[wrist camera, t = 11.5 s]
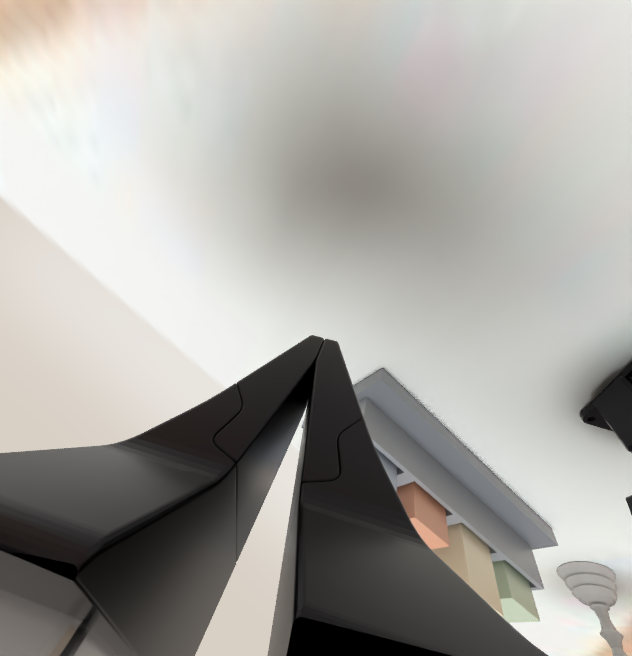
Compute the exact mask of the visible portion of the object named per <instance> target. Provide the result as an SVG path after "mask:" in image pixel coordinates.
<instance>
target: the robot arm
mask: <svg viewBox="0 0 632 656" xmlns="http://www.w3.org/2000/svg"><path fill="white" fill-rule="evenodd" d="M307 403H308V404H307ZM306 406H307V410H306V415H305V421H304V428H303V434H302V441H301V447H300V453H299V460H298V466H297V472H296V479H295V485H294V492H293V498H292V504H291V511H290V517H289V524H288V530H287V536H286V542H285V549H284V556H283V562H282V569H281V574H280V581H279V587H278V594H277V600H276V606H275V612H274V619H273V625H272V632H271V638H270V644H269V651H268V656H548V655H547V654H545V653H544V652H543V651H541V650H540V649H538V648H537V647H536V646H534V645H533V644H532V643H530V642H529V641H528V640H527V639H526V638H525V637H524V636H522V635H521V634H520V633H519V632H518V631H517V630H516V629H514V628H513V627H512V626H511V625H510V624H509V623H508V622H507V621H506V620H505V619H504V618H503V617H502V616H501V615H500V614H499V613H498V612H496V611H495V610H494V609H493V608H492V607H491V606H490V605H489V604H488V603H487V602H486V601H485V600H484V599H483V598H482V597H481V596H480V595H478V594H477V593H476V592H475V591H474V590H473V589H472V588H471V587H470V586H469V585H468V584H467V583H466V582H465V581H464V580H463V579H462V578H461V577H459V576H458V575H457V574H456V573H455V572H454V571H453V570H452V569H451V568H450V567H449V566H448V565H447V564H446V563H445V562H444V561H443V560H441V559H440V558H439V557H438V556H437V555H436V554H435V553H434V552H433V551H432V550H431V549H430V548H429V547H428V545H427V544H426V543H425V542H424V541H423V539H422V538H421V536H420V535H419V534H418V532H417V530H416V529H415V527H414V526H413V524H412V522H411V520H410V518H409V516H408V514H407V512H406V510H405V508H404V506H403V504H402V502H401V500H400V498H399V496H398V494H397V492H396V490H395V488H394V486H393V484H392V482H391V480H390V478H389V476H388V474H387V472H386V470H385V468H384V466H383V464H382V462H381V460H380V457H379V455H378V453H377V451H376V449H375V446H374V444H373V441H372V439H371V436H370V433H369V431H368V428H367V425H366V422H365V420H364V417H363V414H362V411H361V408H360V405H359V402H358V399H357V396H356V393H355V390H354V388H353V385H352V382H351V379H350V376H349V373H348V370H347V367H346V364H345V361H344V358H343V355H342V353H341V350H340V347H339V344H338V342H337V341H333V340H329V339H325V340H324V339H323V338H321V337H318V336H314V335H311V336H309V337H308V338H306V339H304V340H303V341H301V342H300V343H298V344H297V345H295V346H293V347H292V348H290V349H289V350H287V351H286V352H284V353H282V354H281V355H279V356H278V357H276V358H275V359H273V360H271V361H270V362H268V363H267V364H265V365H264V366H262V367H260V368H259V369H257V370H256V371H254V372H253V373H251V374H249V375H248V376H246V377H245V378H243V379H242V380H240V381H238V382H237V384H234V385H232V386H230V387H229V388H227V389H226V390H224V391H222V392H221V393H219V394H217V395H216V396H214V397H212V398H211V399H209V400H207V401H205V402H203V403H201V404H200V405H198V406H196V407H194V408H192V409H190V410H188V411H186V412H184V413H182V414H180V415H178V416H176V417H174V418H172V419H170V420H168V421H166V422H164V423H162V424H160V425H158V426H156V427H154V428H152V429H150V430H148V431H146V432H144V433H142V434H140V435H137V436H135V437H133V438H130V439H128V440H125V441H122V442H118V443H115V444H109V445H102V446H91V447H78V448H64V449H51V450H37V451H25V452H11V453H0V656H195V654H196V652H197V649H198V647H199V645H200V643H201V641H202V638H203V636H204V634H205V631H206V630H207V627H208V625H209V623H210V620H211V618H212V616H213V614H214V612H215V609H216V607H217V605H218V603H219V601H220V598H221V596H222V594H223V592H224V589H225V587H226V585H227V583H228V581H229V578H230V576H231V574H232V572H233V569H234V567H235V565H236V561H237V560H238V558H239V556H240V554H241V551H242V549H243V547H244V545H245V543H246V540H247V538H248V536H249V534H250V531H251V529H252V527H253V525H254V522H255V520H256V518H257V516H258V513H259V511H260V509H261V507H262V505H263V503H264V500H265V498H266V496H267V493H268V491H269V489H270V487H271V485H272V482H273V480H274V478H275V476H276V474H277V471H278V469H279V467H280V465H281V462H282V460H283V458H284V456H285V453H286V451H287V449H288V447H289V445H290V442H291V440H292V438H293V436H294V433H295V431H296V429H297V427H298V425H299V422H300V420H301V418H302V416H303V413H304V411H305V409H306ZM580 417H581V419H582V420H583V421H584V422H585V423H587V424H590V425H594V426H597V427H600V428H604V429H607V430H611V431H613V432H614V433H615V434H616V436H617V437H618V438H619V440H620V441H621V442H622V444H623V445H624V446H625V448H626V449H627V450H628V451H629V452H631V453H632V363H631V364H630V365H629V366H628V367H627V368H626V369H625V370H624V371H623V372H622V373H621V374H620V375H619V376H618V377H617V378H616V379H615V380H614V381H613V382H612V383H611V384H610V385H609V386H608V387H607V388H606V389H605V390H604V391H603V392H602V393H601V394H600V395H599V396H598V397H597V398H596V399H595V400H594V401H593V402H592V403H591V404H590V405H589V406H588V407H587V408H586V409H585V410H584V411H583V412H582V413H581V414H580ZM626 501H627V503H628V506H629V509H630V511H631V515H632V495H631V496H629V497H627V498H626Z"/></svg>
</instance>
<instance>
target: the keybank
mask: <svg viewBox="0 0 632 656" xmlns="http://www.w3.org/2000/svg"><path fill="white" fill-rule="evenodd" d="M353 388H354V390H355V393H356V396H357V399H358V402H359V405H360V408H361V411H362V414H363V417H364V420H365V422H366V425H367V428H368V431H369V433H370V436H371V439H372V441H373V444H374V446H375V447H376V448H377V449H378V450H379V451H380V452H381V453H383V454H384V455H385V456H386V457H387V458H388V459H389V460H391V461H392V462H393V463H394V464H395V465H396V466H397V487H399V486H402V485H405V484H408V483H411V482H414V481H415V482H416V483H417V484H418V485H420V486H421V487H422V488H423V489H424V490H425V491H426V492H428V493H429V494H430V495H431V496H432V497H433V498H435V499H436V500H437V501H438V502H439V503H440V504H441V505H443V506H444V507H445V511H446V520H447V526H449V525H454V524H458V523H463V524H465V525H466V526H467V527H468V528H469V529H470V530H471V531H473V532H474V533H475V534H476V535H477V536H478V537H480V538H481V539H482V540H483V541H484V542H485V543H486V544H488V545H489V550H490V555H491V559H492V562H494V561H501V560H506V561H507V562H508V563H510V564H511V565H512V566H513V567H514V568H515V569H516V570H518V571H519V572H520V573H521V574H522V575H523V576H525V577H526V578H527V579H528V581H529V584H530V588H531V590H541V589H544V587H543V584H542V580H541V577H540V574H539V571H538V568H537V565H536V562H535V559H534V556H533V552H532V550H533V549H539V548H546V547H552V546H558V544H557V541H556V538H555V536H554V533H553V531H552V529H551V528H550V527H549V526H548V525H547V524H546V523H545V522H544V521H543V520H542V519H541V518H540V517H539V516H538V515H537V514H536V513H535V512H534V511H532V510H531V509H530V508H529V507H528V506H527V505H526V504H525V503H524V502H523V501H522V500H521V499H520V498H519V497H518V496H517V495H516V494H515V493H514V492H512V491H511V490H510V489H509V488H508V487H507V486H506V485H505V484H504V483H503V482H502V481H501V480H500V479H499V478H498V477H497V476H496V475H495V474H494V473H493V472H491V471H490V470H489V469H488V468H487V467H486V466H485V465H484V464H483V463H482V462H481V461H480V460H479V459H478V458H477V457H476V456H475V455H474V454H473V453H471V452H470V451H469V450H468V449H467V448H466V447H465V446H464V445H463V444H462V443H461V442H460V441H459V440H458V439H457V438H456V437H455V436H454V435H453V434H452V433H450V432H449V431H448V430H447V429H446V428H445V427H444V426H443V425H442V424H441V423H440V422H439V421H438V420H437V419H436V418H435V417H434V416H433V415H432V414H430V413H429V412H428V411H427V410H426V409H425V408H424V407H423V406H422V405H421V404H420V403H419V402H418V401H417V400H416V399H415V398H414V397H413V396H412V395H411V394H409V393H408V392H407V391H406V390H405V389H404V388H403V387H402V386H401V385H400V384H399V383H398V382H397V381H396V380H395V379H394V378H393V377H392V376H391V375H390V374H388V373H387V372H386V371H385V370H384V369H383V368H382V369H380V370H378V371H377V372H375V373H374V374H372V375H370V376H369V377H367V378H366V379H364V380H362V381H361V382H359V383H357V384H356V385H354V386H353ZM304 421H305V419H304ZM302 428H304V422H303V425H302Z"/></svg>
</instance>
